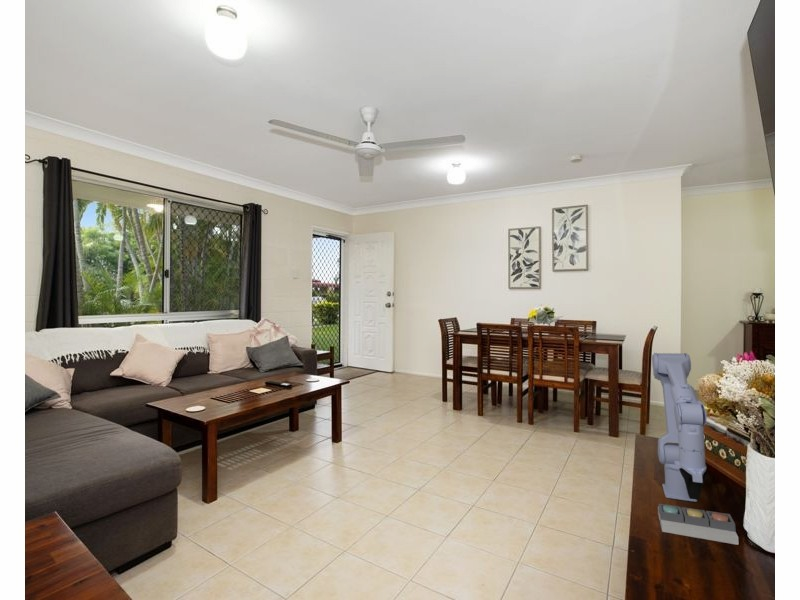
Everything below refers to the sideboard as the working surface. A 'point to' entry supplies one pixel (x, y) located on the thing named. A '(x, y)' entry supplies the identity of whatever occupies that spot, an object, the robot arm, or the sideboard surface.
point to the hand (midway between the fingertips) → (693, 498)
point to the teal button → (670, 509)
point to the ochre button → (694, 513)
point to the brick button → (719, 516)
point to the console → (698, 525)
